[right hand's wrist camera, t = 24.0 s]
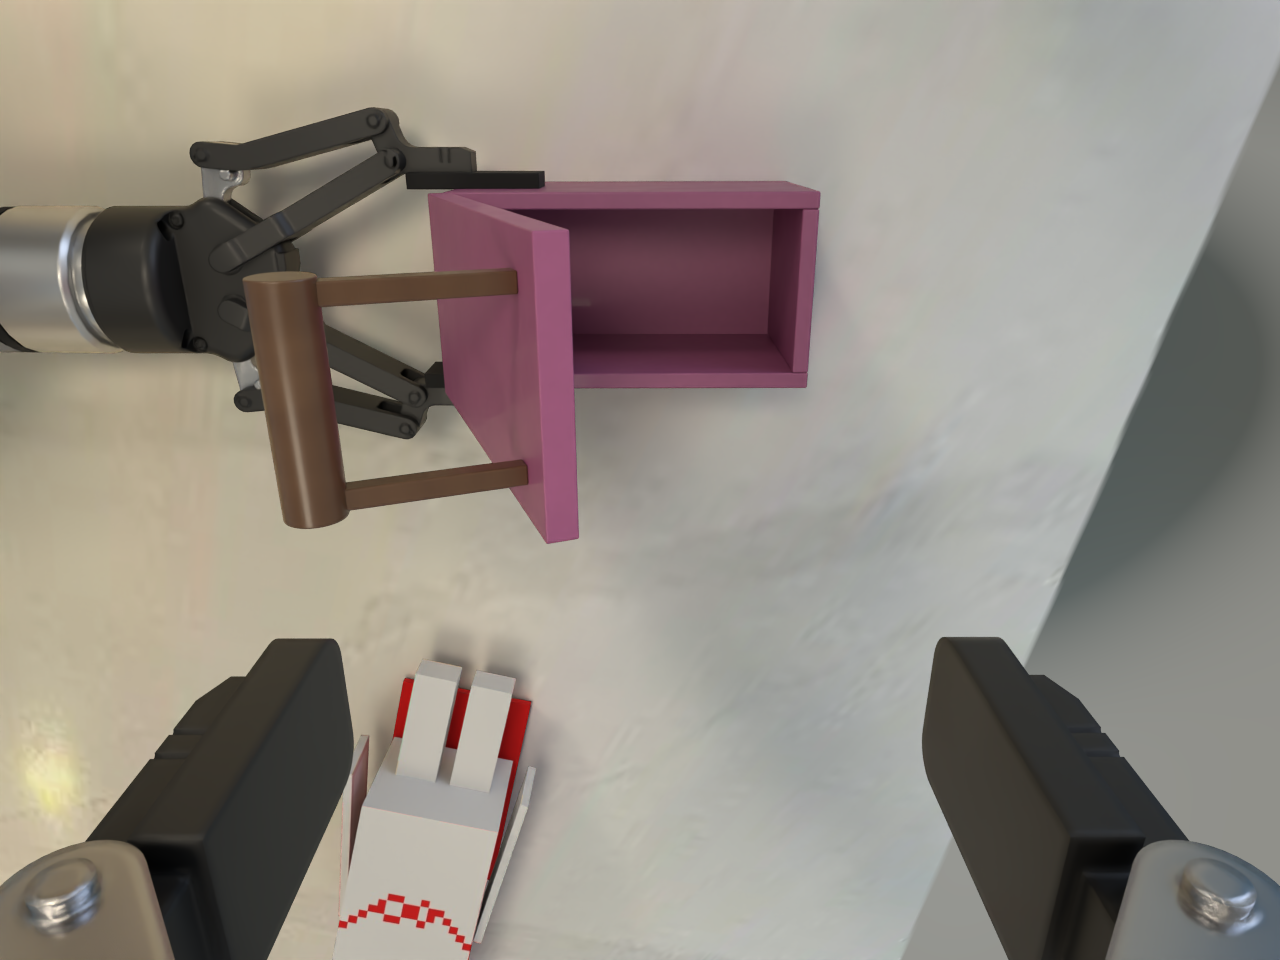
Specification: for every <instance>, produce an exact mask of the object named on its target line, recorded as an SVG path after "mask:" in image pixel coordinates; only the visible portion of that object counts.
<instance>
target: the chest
mask: <svg viewBox="0 0 1280 960" xmlns="http://www.w3.org/2000/svg"><path fill="white" fill-rule="evenodd" d="M444 193H452V194H455V195H458V196H462V197H465V198H468V199H471V200H474V201H478V202H481V203H484V204H487V205H491V206H494V207H497V208H500V209H503V210H507V211H510V212H513V213H516V214H520V215H523V216H526V217H529V218H532V219H536V220H539V221H542V222H545V223H549V224H552V225H555V226H558V227H561V228H565V229H568V230H569V243H570V275H571V306H572V337H573V368H574V388H806V387H807V376H808V374H807V371H808V361H809V347H810V333H811V319H812V305H813V291H814V277H815V263H816V249H817V235H818V221H819V207H820V192H819V191H816V190H813V189H810V188H806V187H803V186H800V185H796V184H793V183H790V182H787V181H655V182H545V186H544V187H542V188H540V189H454V190H451V191H447V192H444Z"/></svg>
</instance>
